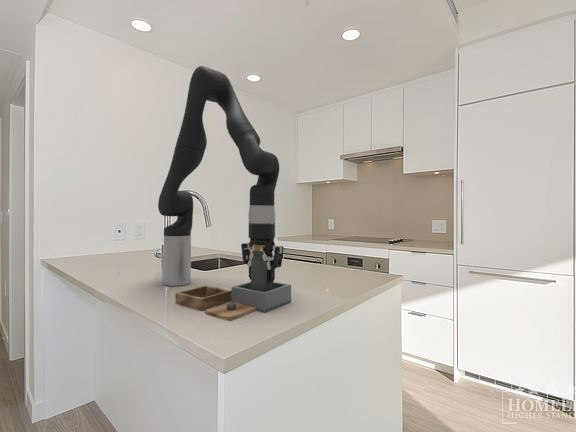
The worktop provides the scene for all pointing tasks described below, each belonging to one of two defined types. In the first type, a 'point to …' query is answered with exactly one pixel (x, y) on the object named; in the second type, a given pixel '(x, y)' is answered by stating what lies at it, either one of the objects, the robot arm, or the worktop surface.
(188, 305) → the tray
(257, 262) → the bottle
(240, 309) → the corral lid
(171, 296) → the worktop surface
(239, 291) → the bin
